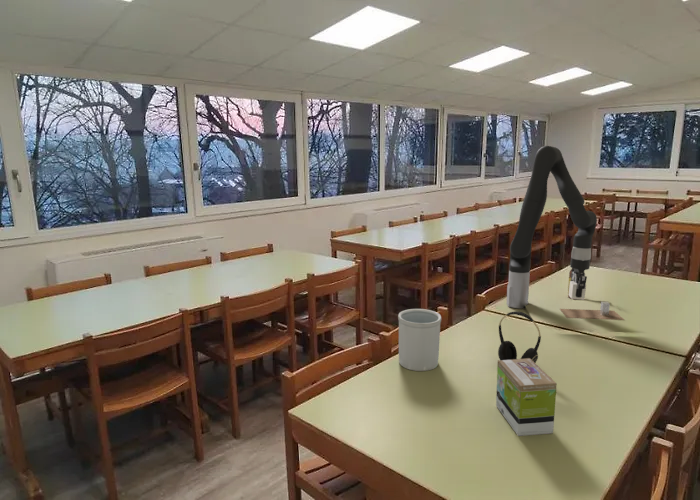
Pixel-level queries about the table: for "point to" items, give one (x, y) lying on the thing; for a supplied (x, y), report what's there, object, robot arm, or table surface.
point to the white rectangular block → (573, 291)
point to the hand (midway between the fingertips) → (576, 294)
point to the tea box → (526, 396)
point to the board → (590, 314)
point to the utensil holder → (419, 339)
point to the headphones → (508, 348)
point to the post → (604, 308)
